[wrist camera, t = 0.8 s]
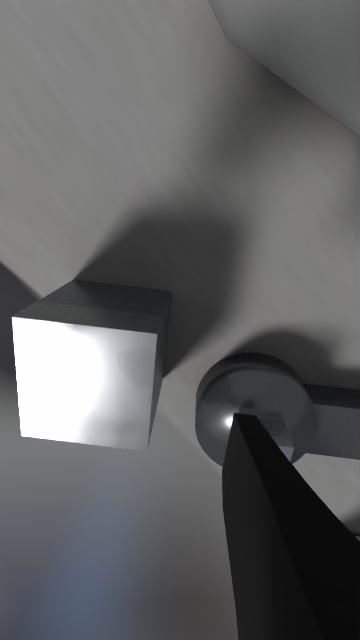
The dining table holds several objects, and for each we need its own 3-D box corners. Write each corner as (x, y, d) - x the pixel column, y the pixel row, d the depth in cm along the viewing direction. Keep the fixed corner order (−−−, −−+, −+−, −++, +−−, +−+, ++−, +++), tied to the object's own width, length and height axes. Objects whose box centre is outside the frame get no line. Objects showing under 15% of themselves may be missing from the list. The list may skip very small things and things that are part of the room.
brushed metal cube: (162, 379, 19) (147, 451, 14) (73, 368, 19) (21, 435, 14) (171, 291, 18) (157, 333, 12) (72, 280, 18) (12, 317, 12)
